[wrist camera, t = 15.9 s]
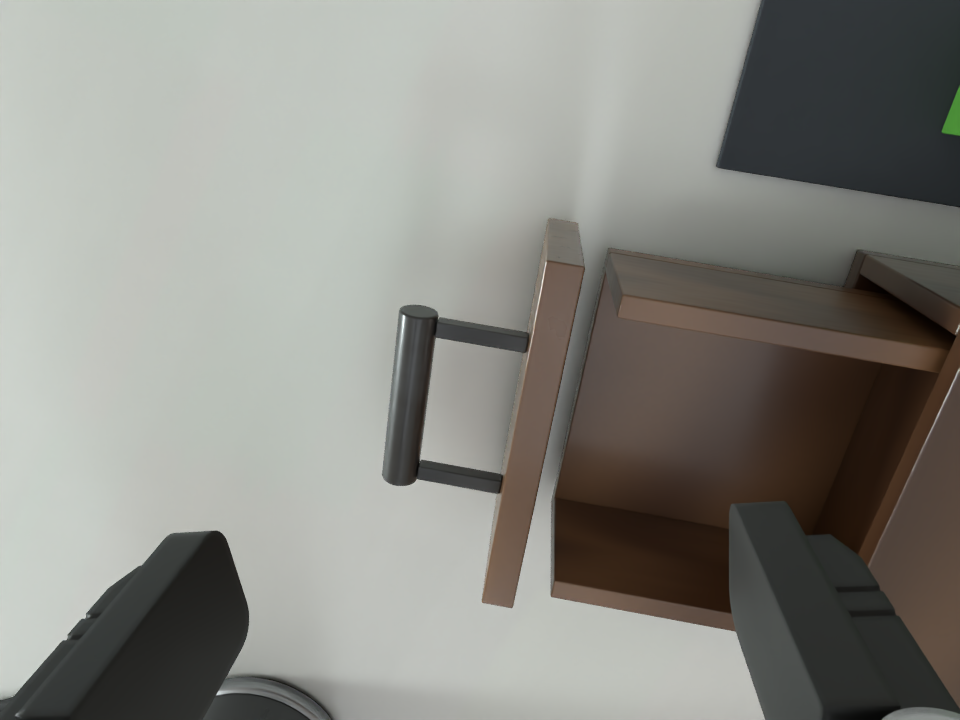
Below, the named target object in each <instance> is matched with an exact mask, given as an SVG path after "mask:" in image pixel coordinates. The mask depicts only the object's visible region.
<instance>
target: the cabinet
mask: <svg viewBox="0 0 960 720" xmlns="http://www.w3.org/2000/svg"><path fill="white" fill-rule="evenodd" d="M844 287H846V288H852V289H858V290H864V291H870V292H876V293H882V294H888V295H893V296H895V297H896V298H898V299H900V300H901V301H903V302H904V303H906V304H907V305H909V306H910V307H912V308H914V309H915V310H917V311H918V312H920V313H921V314H923V315H924V316H926V317H928V318H929V319H931V320H932V321H934V322H935V323H937V324H938V325H940V326H941V327H943V328H945V329H946V330H948V331H949V332H951V333H952V334H954V335H955V336H956V338H955V341H954V343H953V345H952V347H951V350H950V352H949V354H948V356H947V358H946V361H945V363H944V365H943V367H942V369H941V372H940V374H939V376H938V378H937V380H936V383H935V385H934V387H933V389H932V392H931V394H930V396H929V398H928V400H927V403H926V405H925V407H924V409H923V411H922V414H921V416H920V418H919V420H918V423H917V425H916V427H915V429H914V431H913V434H912V436H911V438H910V440H909V442H908V445H907V447H906V449H905V451H904V454H903V456H902V458H901V460H900V462H899V465H898V467H897V469H896V471H895V473H894V476H893V478H892V480H891V482H890V485H889V487H888V489H887V491H886V493H885V496H884V498H883V500H882V502H881V504H880V507H879V509H878V511H877V513H876V516H875V518H874V520H873V522H872V524H871V527H870V529H869V531H868V533H867V535H866V538H865V540H864V542H863V544H862V547H861V549H860V551H859V553H858V555H859V556H860V557H861V558H862V559H863V561H864V562H865V564H866V565H867V567H868V568H869V570H870V571H871V573H872V575H873V576H874V578H875V579H876V581H877V582H878V584H879V585H880V590H881V591H884V593H885V595H886V596H887V598H888V599H889V601H890V602H891V604H892V605H893V607H894V608H895V613H896V615H897V616H900V618H901V619H902V621H903V622H904V624H905V625H906V627H907V628H908V630H909V632H910V633H911V635H912V636H913V638H914V639H915V641H916V642H917V644H918V645H919V647H920V648H921V650H922V652H923V653H924V655H925V656H926V658H927V659H928V661H929V662H930V664H931V665H932V667H933V669H934V670H935V672H936V673H937V675H938V676H939V678H940V679H941V681H942V682H943V684H944V685H945V687H946V689H947V690H948V692H949V693H950V695H951V696H952V698H953V699H954V701H955V702H956V704H957V705H958V707H959V709H960V266H954V265H948V264H942V263H936V262H930V261H924V260H918V259H912V258H906V257H900V256H894V255H888V254H882V253H876V252H870V251H864V250H858V251H857V253H856V256H855V259H854V261H853V264H852V267H851V269H850V272H849V275H848V278H847V280H846V283H845V286H844Z"/></svg>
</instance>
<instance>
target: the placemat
mask: <svg viewBox="0 0 960 720" xmlns="http://www.w3.org/2000/svg"><path fill="white" fill-rule="evenodd" d="M959 86H960V0H762V1H761V5H760V8H759V12H758V16H757V19H756V23H755V27H754V30H753V34H752V38H751V41H750V45H749V48H748V52H747V56H746V59H745V63H744V67H743V70H742V74H741V78H740V81H739V85H738V89H737V92H736V96H735V100H734V103H733V107H732V110H731V114H730V118H729V121H728V125H727V129H726V132H725V136H724V140H723V143H722V147H721V151H720V154H719V158H718V162H717V165H716V166H717V167H718V168H722V169H728V170H734V171H741V172H747V173H753V174H759V175H765V176H771V177H778V178H784V179H790V180H796V181H802V182H808V183H815V184H821V185H827V186H833V187H839V188H845V189H851V190H858V191H864V192H870V193H876V194H882V195H888V196H895V197H901V198H907V199H913V200H919V201H925V202H932V203H938V204H944V205H950V206H956V207H960V136H956V135H949V134H943V133H942V129H943V126H944V124H945V121H946V119H947V116H948V114H949V111H950V108H951V106H952V103H953V101H954V98H955V96H956V93H957V91H958V88H959Z"/></svg>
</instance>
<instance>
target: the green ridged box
mask: <svg viewBox="0 0 960 720" xmlns="http://www.w3.org/2000/svg"><path fill="white" fill-rule="evenodd" d="M942 133H943V134H949V135H956V136H960V86H959V88H958V91H957V93H956V96H955V98H954V101H953V103H952V106H951V108H950V111H949V114H948V116H947V119H946V121H945V124H944V126H943V129H942Z"/></svg>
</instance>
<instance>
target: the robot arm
mask: <svg viewBox="0 0 960 720" xmlns="http://www.w3.org/2000/svg"><path fill="white" fill-rule="evenodd" d="M729 595H730V604H731V611H732V617H733V621H734V626H735V630H736V633H737V636H738V639H739V642H740V645H741V648H742V651H743V654H744V657H745V660H746V663H747V666H748V669H749V672H750V675H751V678H752V681H753V684H754V687H755V690H756V693H757V696H758V699H759V702H760V705H761V708H762V711H763V714H764V717H765V720H960V709H959V707H958V705H957V704H956V702H955V701H954V699H953V698H952V696H951V695H950V693H949V692H948V690H947V689H946V687H945V685H944V684H943V682H942V681H941V679H940V678H939V676H938V675H937V673H936V672H935V670H934V669H933V667H932V665H931V664H930V662H929V661H928V659H927V658H926V656H925V655H924V653H923V652H922V650H921V648H920V647H919V645H918V644H917V642H916V641H915V639H914V638H913V636H912V635H911V633H910V632H909V630H908V628H907V627H906V625H905V624H904V622H903V621H902V619H901V618H900V616H897V615H896V613H895V608H894V607H893V605H892V604H891V602H890V601H889V599H888V598H887V596H886V595H885V593H884V591H881V590H880V585H879V584H878V582H877V581H876V579H875V578H874V576H873V575H872V573H871V571H870V570H869V568H868V567H867V565H866V564H865V562H864V561H863V559H862V558H861V557H860V556H859V555H858V554H856V553H855V552H854V551H852V550H851V549H849V548H848V547H847V546H845V545H844V544H843V543H841V542H840V541H839V540H837V539H836V538H835V537H833V536H832V535H831V534H824V535H805V533H804V531H803V530H802V528H801V526H800V524H799V522H798V521H797V519H796V517H795V515H794V514H793V512H792V510H791V508H790V506H789V505H788V504H787V502H785V501H771V502H753V503H735V504H731V506H730V510H729ZM248 626H249V610H248V605H247V601H246V598H245V595H244V592H243V589H242V586H241V583H240V580H239V576H238V573H237V570H236V567H235V564H234V561H233V558H232V555H231V552H230V548H229V545H228V543H227V540H226V538H225V536H224V535H223V534H222V533H221V532H219V531H203V532H185V533H173V534H170V535H169V536H167V537H166V538H165V539H164V540H163V541H162V543H161V544H160V545H159V546H158V547H157V548H156V550H155V551H154V552H153V553H152V554H151V556H150V557H149V558H148V559H147V560H146V561H145V563H144V564H143V565H142V566H138V567H137V568H136V569H134V570H133V571H132V572H130V573H129V574H127V575H126V576H125V577H123V578H122V579H121V580H119V581H118V582H116V583H115V584H114V585H112V586H111V587H110V588H108V589H107V590H106V592H105V593H104V594H103V595H102V596H101V597H100V598H99V600H98V601H97V602H96V603H95V604H94V605H93V606H92V608H91V609H90V610H89V611H88V612H87V613H86V618H85V619H81V620H80V621H79V622H78V624H77V625H76V626H75V627H74V628H73V629H72V630H71V632H70V633H69V634H68V638H67V640H66V641H62V642H61V643H60V644H59V645H58V646H57V648H56V649H55V650H54V651H53V652H52V653H51V654H50V656H49V657H48V658H47V659H46V660H45V661H44V662H43V664H42V665H41V666H40V667H39V668H38V669H37V670H36V672H35V673H34V674H33V675H32V676H31V677H30V678H29V680H28V681H27V682H26V683H25V684H24V685H23V687H22V688H21V689H20V690H19V691H18V692H17V693H16V695H15V696H14V697H13V698H9V699H5V700H1V701H0V720H331V718H330V717H329V716H328V714H327V713H326V712H325V711H324V710H323V709H322V708H321V707H320V706H319V705H318V704H317V703H316V702H314V701H313V700H312V699H311V698H309V697H308V696H306V695H305V694H303V693H301V692H299V691H298V690H296V689H294V688H292V687H289V686H287V685H284V684H282V683H279V682H275V681H272V680H267V679H262V678H253V677H238V678H230V679H225V678H226V676H227V674H228V673H229V671H230V669H231V667H232V665H233V663H234V662H235V660H236V658H237V656H238V654H239V653H240V651H241V649H242V647H243V645H244V642H245V640H246V636H247V632H248Z"/></svg>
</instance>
